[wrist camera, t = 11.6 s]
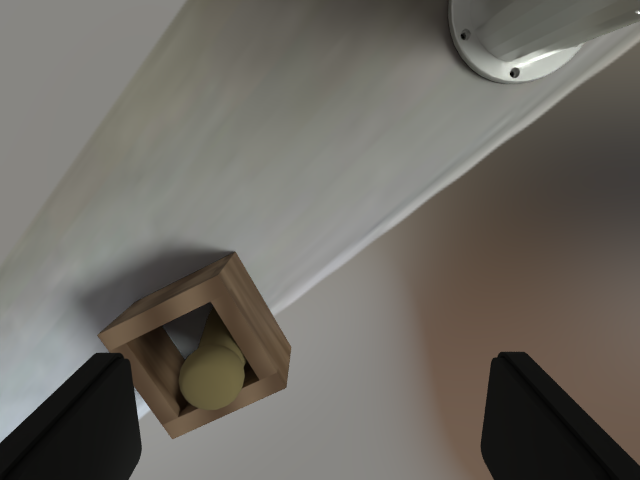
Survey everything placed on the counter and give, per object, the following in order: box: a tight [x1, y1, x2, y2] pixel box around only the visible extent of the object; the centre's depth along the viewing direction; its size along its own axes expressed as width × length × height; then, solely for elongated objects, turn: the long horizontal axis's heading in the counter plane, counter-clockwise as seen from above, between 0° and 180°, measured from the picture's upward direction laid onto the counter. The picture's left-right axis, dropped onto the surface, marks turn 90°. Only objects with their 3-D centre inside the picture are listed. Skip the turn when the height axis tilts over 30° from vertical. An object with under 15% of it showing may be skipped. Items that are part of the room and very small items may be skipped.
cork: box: [179, 307, 247, 410], centre depth 35 cm, size 6×6×11 cm
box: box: [98, 252, 291, 439], centre depth 37 cm, size 12×12×7 cm
